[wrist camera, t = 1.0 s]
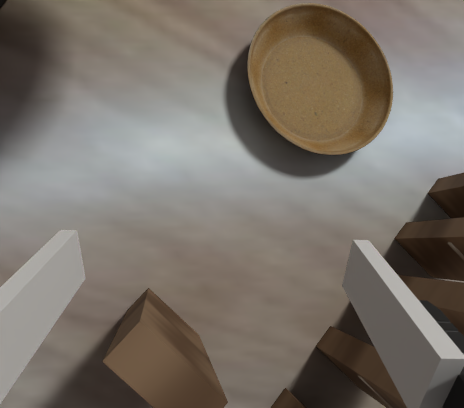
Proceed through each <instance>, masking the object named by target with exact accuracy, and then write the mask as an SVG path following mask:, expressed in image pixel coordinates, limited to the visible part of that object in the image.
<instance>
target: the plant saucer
mask: <svg viewBox="0 0 464 408" xmlns="http://www.w3.org/2000/svg"><path fill="white" fill-rule="evenodd" d="M247 71H248V79H249V84H250V88H251V92H252V94H253V97H254V100H255V102H256V104H257V106H258V108H259V109H260V111H261V113H262V114H263V116H264V117H265V119H266V120H267V121H268V123H269V124H270V125H271V126H272V127H273V128H274V129H275V130H276V131H277V132H278V133H279V134H280V135H281V136H283V137H284V138H285V139H286V140H288V141H290V142H291V143H293V144H294V145H296V146H298V147H300V148H302V149H305V150H307V151H310V152H314V153H318V154H325V155H340V154H346V153H350V152H354V151H356V150H359V149H361V148H362V147H364V146H366V145H367V144H369V143H370V142H371V141H372V140H373V139H375V138H376V137H377V135H378V134H379V133H380V132H381V130H382V129H383V127H384V125H385V123H386V122H387V119H388V116H389V114H390V111H391V106H392V100H393V85H392V77H391V72H390V69H389V66H388V63H387V60H386V57H385V55H384V53H383V51H382V50H381V48H380V46H379V45H378V43H377V42H376V40H375V39H374V38H373V36H372V35H371V34H370V33H369V32H368V31H367V30H366V28H365V27H363V25H361V24H360V23H359V22H358V21H357V20H355V19H354V18H352V17H351V16H349V15H347V14H346V13H344V12H342V11H340V10H338V9H335V8H333V7H330V6H326V5H321V4H315V3H301V4H295V5H291V6H287V7H285V8H282V9H280V10H279V11H277V12H275V13H273V14H272V15H271V16H269V17H268V18H267V19H266V20H265V21H264V22H263V23H262V24H261V26H260V27H259V28H258V30H257V31H256V33H255V35H254V37H253V39H252V42H251V45H250V48H249V53H248V62H247Z"/></svg>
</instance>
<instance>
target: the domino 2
mask: <svg viewBox="0 0 464 408" xmlns="http://www.w3.org/2000/svg"><path fill="white" fill-rule="evenodd" d="M271 408H307V407H306V406H304V405H303V404H302V403H301V402H300V401H299V400H298V399H297V398H296V397H295V396H294V395H293V394H292V393H291V392H290V391H289V390H288V389H286V388H285V389H284V390H283V392H282V393H281V394H280V396H279V397H278V398H277V400H276V401H275V403H274V404H273V405H272V407H271Z"/></svg>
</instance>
